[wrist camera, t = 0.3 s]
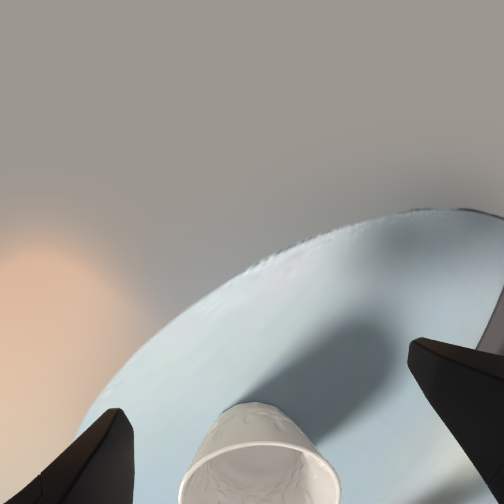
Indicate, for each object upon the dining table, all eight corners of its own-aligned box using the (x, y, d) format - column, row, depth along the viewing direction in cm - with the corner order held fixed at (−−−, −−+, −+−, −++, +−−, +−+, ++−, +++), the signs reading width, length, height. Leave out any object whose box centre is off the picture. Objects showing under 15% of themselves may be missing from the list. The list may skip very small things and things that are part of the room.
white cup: (266, 374, 21) (286, 408, 12) (321, 446, 20) (367, 506, 10) (182, 425, 20) (145, 483, 10) (240, 493, 18) (240, 569, 9)
